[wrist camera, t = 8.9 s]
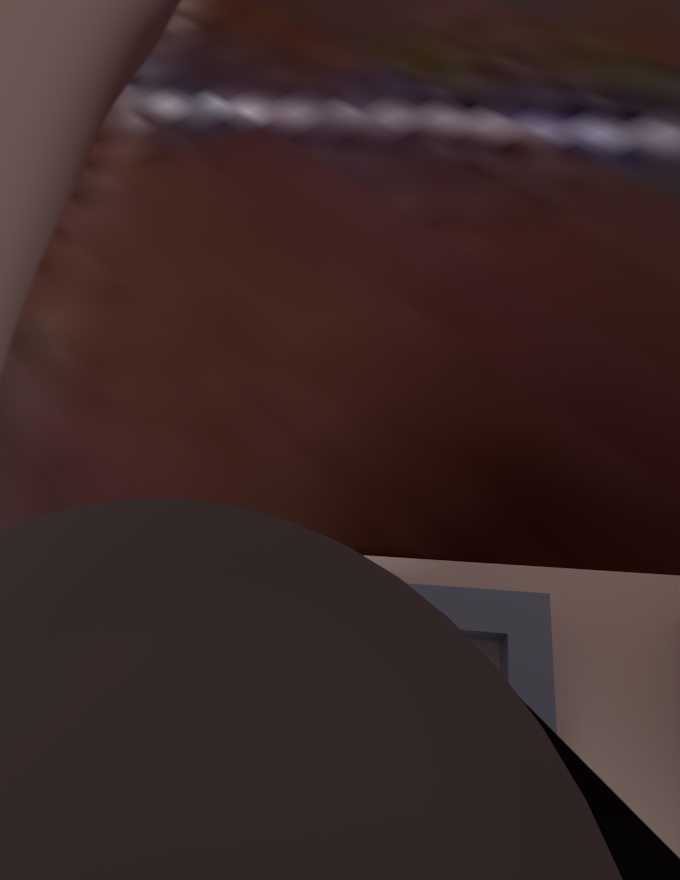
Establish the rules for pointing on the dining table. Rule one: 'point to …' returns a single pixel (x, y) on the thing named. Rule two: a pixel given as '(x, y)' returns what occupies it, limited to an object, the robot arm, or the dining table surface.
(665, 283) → the dining table surface
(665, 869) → the robot arm
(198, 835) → the grey cylinder
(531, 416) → the dining table surface
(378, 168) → the dining table surface
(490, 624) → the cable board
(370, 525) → the dining table surface
